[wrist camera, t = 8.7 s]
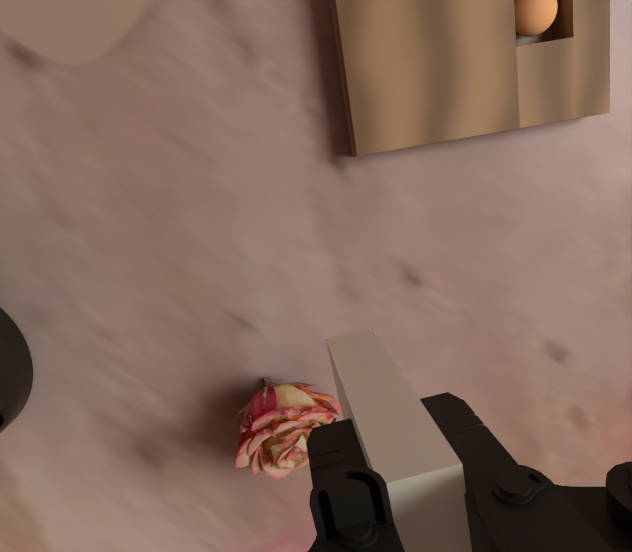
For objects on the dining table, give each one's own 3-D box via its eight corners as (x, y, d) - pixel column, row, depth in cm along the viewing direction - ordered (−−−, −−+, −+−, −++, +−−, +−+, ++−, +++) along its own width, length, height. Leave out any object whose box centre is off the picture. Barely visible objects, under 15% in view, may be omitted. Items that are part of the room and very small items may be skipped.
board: (351, 156, 37) (357, 155, 34) (320, -70, 32) (323, -89, 30) (588, 116, 37) (609, 112, 35) (586, -110, 33) (610, -132, 31)
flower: (197, 400, 39) (218, 492, 34) (267, 336, 36) (302, 425, 31) (274, 412, 46) (301, 490, 41) (339, 359, 43) (376, 435, 38)
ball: (502, 42, 35) (541, 29, 32) (499, -5, 34) (540, -22, 31) (527, 41, 36) (566, 28, 33) (525, -3, 35) (566, -20, 33)
